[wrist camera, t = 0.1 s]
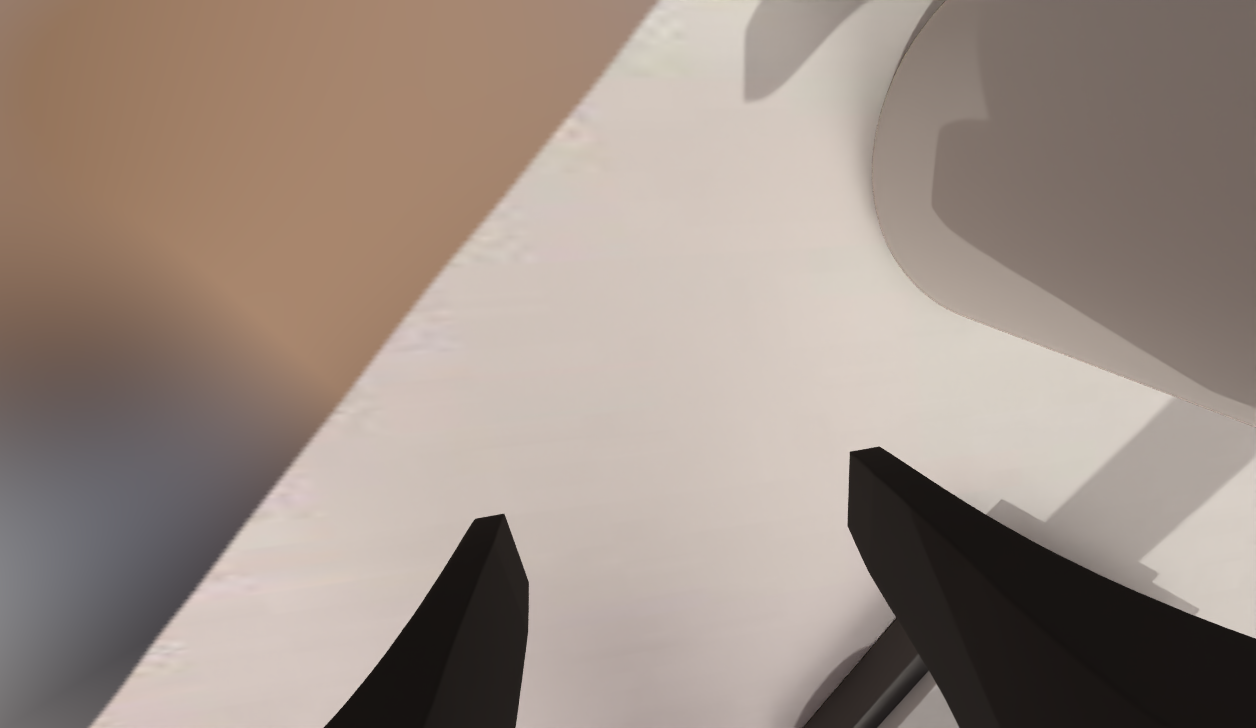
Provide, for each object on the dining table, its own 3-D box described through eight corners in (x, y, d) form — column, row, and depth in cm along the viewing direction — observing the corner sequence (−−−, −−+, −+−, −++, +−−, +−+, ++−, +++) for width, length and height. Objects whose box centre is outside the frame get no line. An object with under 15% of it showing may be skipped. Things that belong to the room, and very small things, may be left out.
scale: (975, 825, 31) (1009, 883, 28) (784, 748, 29) (802, 805, 26) (1161, 646, 28) (1218, 693, 25) (962, 540, 25) (1003, 582, 22)
